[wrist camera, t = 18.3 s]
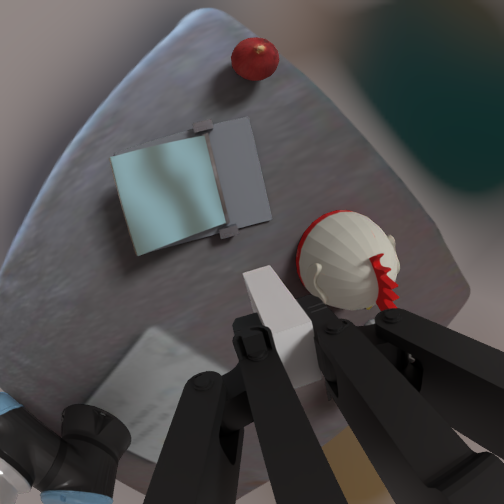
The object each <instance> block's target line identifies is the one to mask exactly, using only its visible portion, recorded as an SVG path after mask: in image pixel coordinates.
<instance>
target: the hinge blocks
mask: <svg viewBox="0 0 504 504" xmlns="http://www.w3.org/2000/svg"><path fill="white" fill-rule="evenodd" d="M192 125H193V129H194V133H195V134H197V133H201V132H205V131H209V130H213V123H212V119H209V120H205V121H201V122H197V123H193V124H192ZM218 229H219V233H220V237H221V239H223V238H227V237H231V236H235V235H239V231H238V227H237V224H232V225H228V226H224V227H221V228H218Z"/></svg>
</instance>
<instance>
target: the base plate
mask: <svg viewBox="0 0 504 504" xmlns="http://www.w3.org/2000/svg"><path fill="white" fill-rule="evenodd" d="M206 133H208V135H209V139H210V143H211V147H212V151H213V155H214V160H215V164H216V168H217V172H218V176H219V180H220V184H221V188H222V192H223V196H224V200H225V204H226V208H227V212H228V216H229V220H230V223H229V224H225V225H223V224H221V225H218V226H216V227H213V228H210V229H208V230H205V231H202V232H200V233H197V234H194V235H192V236H189V237H186V238H184V239H181V240H178V241H176V242H173V243H170V244H168V245H165V246H163V247H160V248H157V249H155V250H152V251H150V252H153V251H156V250H160V249H163V248H167V247H171V246H174V245H178V244H182V243H185V242H189V241H192V240H196V239H200V238H204V237H207V236H211V235H215V234H219V229H218V228H221V227H224V226H228V225H232V224H237V227H238V228H241V227H245V226H249V225H253V224H257V223H261V222H265V221H268V220H272V216H271V211H270V206H269V202H268V198H267V193H266V189H265V184H264V180H263V175H262V171H261V167H260V162H259V158H258V154H257V150H256V145H255V141H254V137H253V133H252V129H251V124H250V120H249V117H244V118H239V119H234V120H229V121H225V122H220V123H216V124H213V130H209V131H205V132H201V133H197V134H195V133H194V129H192V130H188V131H184V132H180V133H177V134H173V135H170V136H166V137H163V138H159V139H156V140H153V141H149V142H146V143H143V144H140V145H137V146H134V147H130V148H127V149H125V150H122V151H119V152H116V153H114V156H117V155H120V154H124V153H128V152H132V151H136V150H140V149H144V148H148V147H152V146H156V145H160V144H165V143H169V142H174V141H179V140H183V139H188V138H193V137H199V136H201V135H202V134H206ZM147 253H149V252H147ZM145 254H146V253H145Z"/></svg>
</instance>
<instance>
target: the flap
mask: <svg viewBox="0 0 504 504" xmlns="http://www.w3.org/2000/svg"><path fill="white" fill-rule="evenodd" d="M109 160H110V164H111V168H112V172H113V176H114V180H115V184H116V188H117V192H118V196H119V199H120V203H121V207H122V210H123V214H124V217H125V221H126V224H127V227H128V231H129V234H130V237H131V240H132V244H133V247H134V250H135V253H136V255H137V256H140V255H142V254H145V253H147V252H150V251H152V250H155V249H157V248H160V247H163V246H165V245H168V244H170V243H173V242H176V241H178V240H181V239H184V238H186V237H189V236H192V235H194V234H197V233H200V232H202V231H205V230H208V229H210V228H213V227H216V226H218V225H221V224H223V225H225V224H229V223H230V220H229V216H228V212H227V208H226V204H225V200H224V196H223V192H222V188H221V184H220V180H219V176H218V172H217V168H216V164H215V160H214V155H213V151H212V147H211V143H210V139H209V135H208V133H206V134H202V135H201V136H199V137H193V138H188V139H183V140H179V141H174V142H169V143H165V144H160V145H156V146H152V147H148V148H144V149H140V150H136V151H132V152H128V153H124V154H120V155H117V156H113V157H110V158H109Z"/></svg>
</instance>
